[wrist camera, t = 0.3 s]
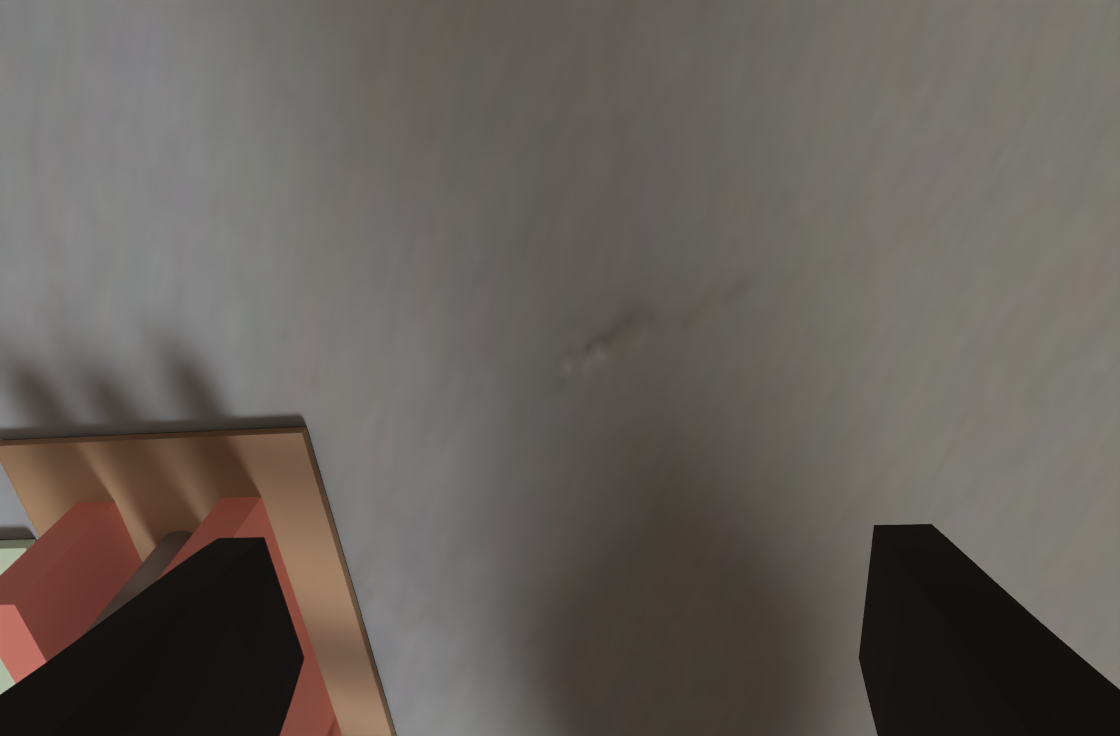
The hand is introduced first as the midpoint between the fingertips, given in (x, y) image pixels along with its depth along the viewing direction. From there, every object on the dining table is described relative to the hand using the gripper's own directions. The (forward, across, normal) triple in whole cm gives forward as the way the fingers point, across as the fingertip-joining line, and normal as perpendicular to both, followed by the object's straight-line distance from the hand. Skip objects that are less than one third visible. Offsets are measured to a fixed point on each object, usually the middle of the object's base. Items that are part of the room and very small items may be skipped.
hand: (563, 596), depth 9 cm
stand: (+10, +12, +10) cm, 19 cm away
